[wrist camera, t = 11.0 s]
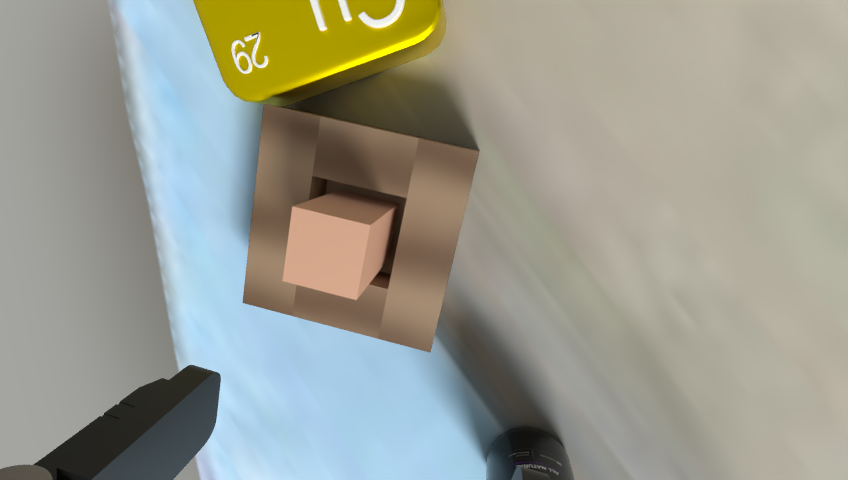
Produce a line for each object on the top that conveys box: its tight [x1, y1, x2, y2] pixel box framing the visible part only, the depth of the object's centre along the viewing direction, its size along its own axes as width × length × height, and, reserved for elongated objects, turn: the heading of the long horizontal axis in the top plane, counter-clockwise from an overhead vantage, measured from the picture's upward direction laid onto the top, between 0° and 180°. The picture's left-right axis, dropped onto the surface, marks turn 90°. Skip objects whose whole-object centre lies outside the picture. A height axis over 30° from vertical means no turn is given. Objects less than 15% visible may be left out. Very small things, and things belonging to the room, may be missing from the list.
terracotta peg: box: [282, 190, 399, 300], centre depth 27 cm, size 4×4×8 cm
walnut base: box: [243, 104, 479, 352], centre depth 30 cm, size 14×14×4 cm
